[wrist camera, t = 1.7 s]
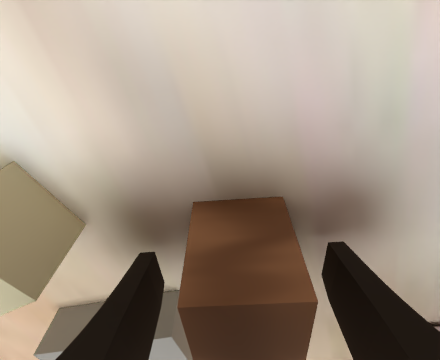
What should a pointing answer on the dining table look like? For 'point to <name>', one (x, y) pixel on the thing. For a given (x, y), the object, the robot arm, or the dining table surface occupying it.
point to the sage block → (30, 237)
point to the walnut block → (245, 283)
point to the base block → (80, 315)
